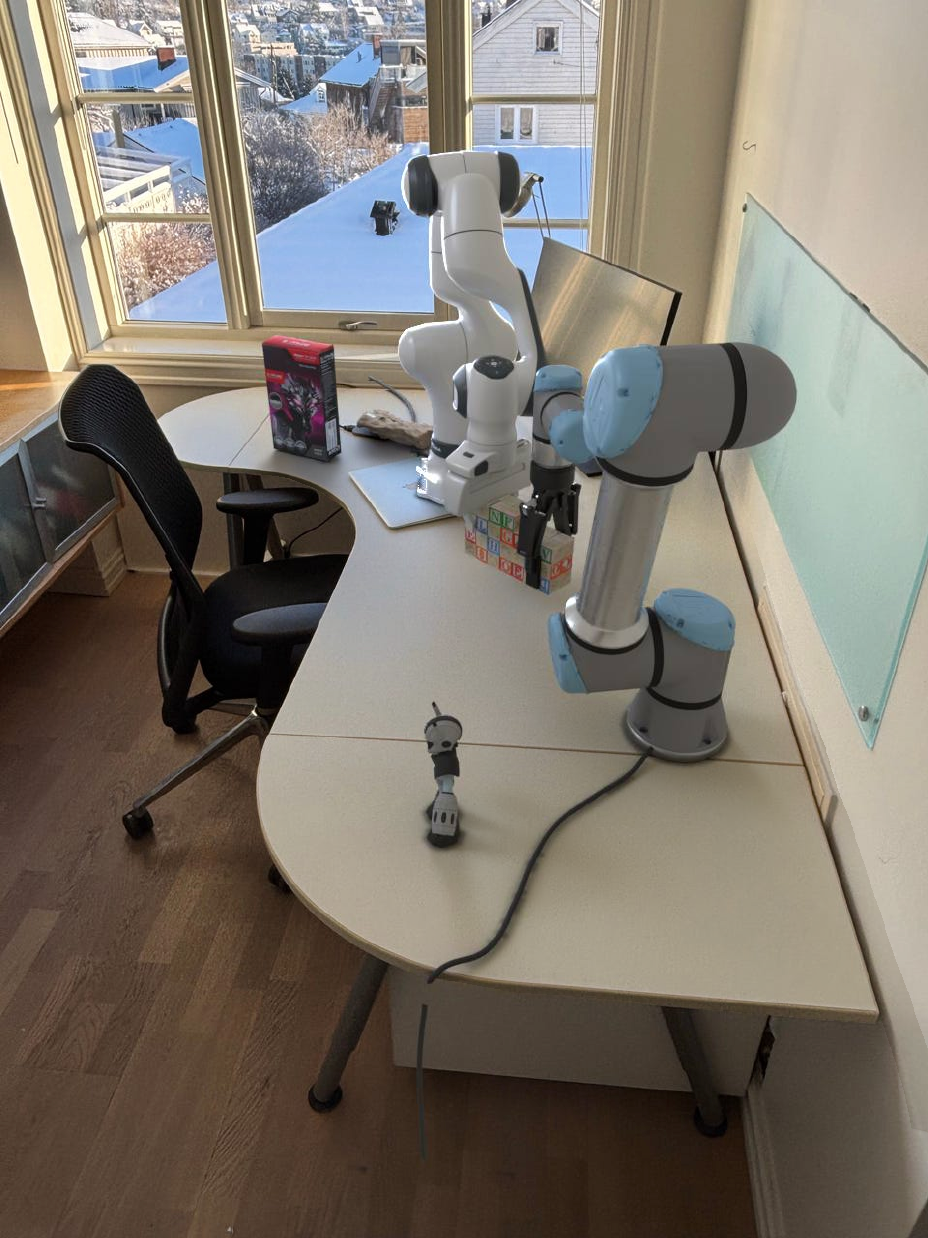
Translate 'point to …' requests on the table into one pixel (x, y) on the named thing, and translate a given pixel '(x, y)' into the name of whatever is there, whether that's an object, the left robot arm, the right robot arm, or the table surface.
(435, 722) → the robot
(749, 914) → the table surface
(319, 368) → the graphics card box
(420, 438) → the stone
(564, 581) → the stack of blocks
